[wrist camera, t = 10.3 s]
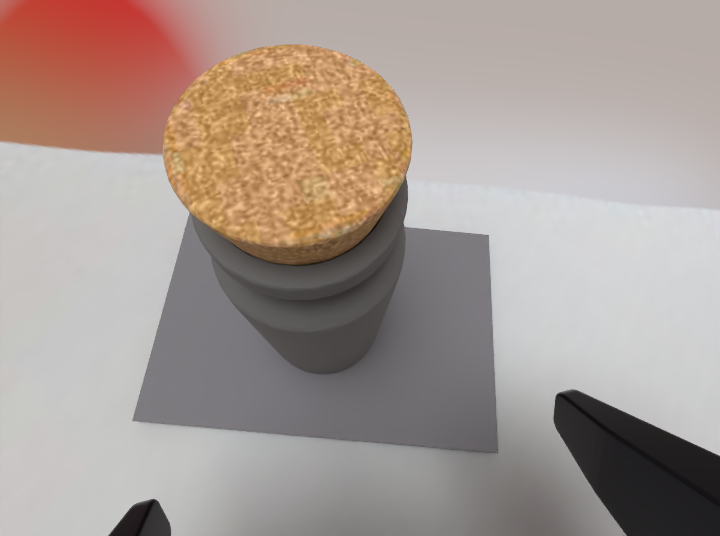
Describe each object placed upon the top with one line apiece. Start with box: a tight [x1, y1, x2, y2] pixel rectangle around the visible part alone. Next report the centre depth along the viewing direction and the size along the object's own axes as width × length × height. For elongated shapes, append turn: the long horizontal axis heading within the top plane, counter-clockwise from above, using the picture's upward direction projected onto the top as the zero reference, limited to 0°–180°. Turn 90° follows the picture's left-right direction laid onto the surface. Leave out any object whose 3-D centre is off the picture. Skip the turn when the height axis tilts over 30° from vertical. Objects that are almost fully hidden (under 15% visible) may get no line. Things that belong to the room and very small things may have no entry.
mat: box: [132, 213, 498, 453], centre depth 22 cm, size 18×12×1 cm, turn 85°
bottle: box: [163, 45, 412, 374], centre depth 14 cm, size 6×6×15 cm
